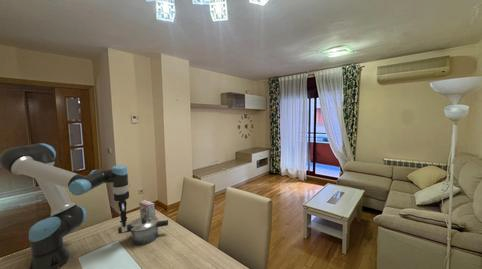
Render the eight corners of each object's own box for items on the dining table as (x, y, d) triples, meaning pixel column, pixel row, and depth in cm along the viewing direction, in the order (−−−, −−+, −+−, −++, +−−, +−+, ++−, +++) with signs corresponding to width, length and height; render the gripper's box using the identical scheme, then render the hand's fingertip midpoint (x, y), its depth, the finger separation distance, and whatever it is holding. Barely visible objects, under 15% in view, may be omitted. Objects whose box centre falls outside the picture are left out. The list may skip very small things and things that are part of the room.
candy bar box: (140, 224, 138) (138, 202, 136) (147, 220, 142) (145, 199, 140) (149, 228, 132) (148, 206, 130) (156, 225, 136) (154, 203, 134)
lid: (119, 239, 107) (118, 233, 107) (117, 225, 120) (117, 220, 119) (160, 225, 119) (159, 220, 119) (154, 214, 132) (154, 210, 132)
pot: (116, 250, 111) (114, 236, 110) (124, 234, 126) (122, 221, 125) (167, 240, 119) (166, 227, 118) (169, 227, 133) (168, 214, 132)
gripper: (130, 194, 108) (133, 234, 110) (127, 187, 119) (130, 223, 121) (114, 197, 104) (117, 239, 106) (113, 190, 114) (116, 228, 117)
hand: (124, 231), depth 114 cm, fingers closed
